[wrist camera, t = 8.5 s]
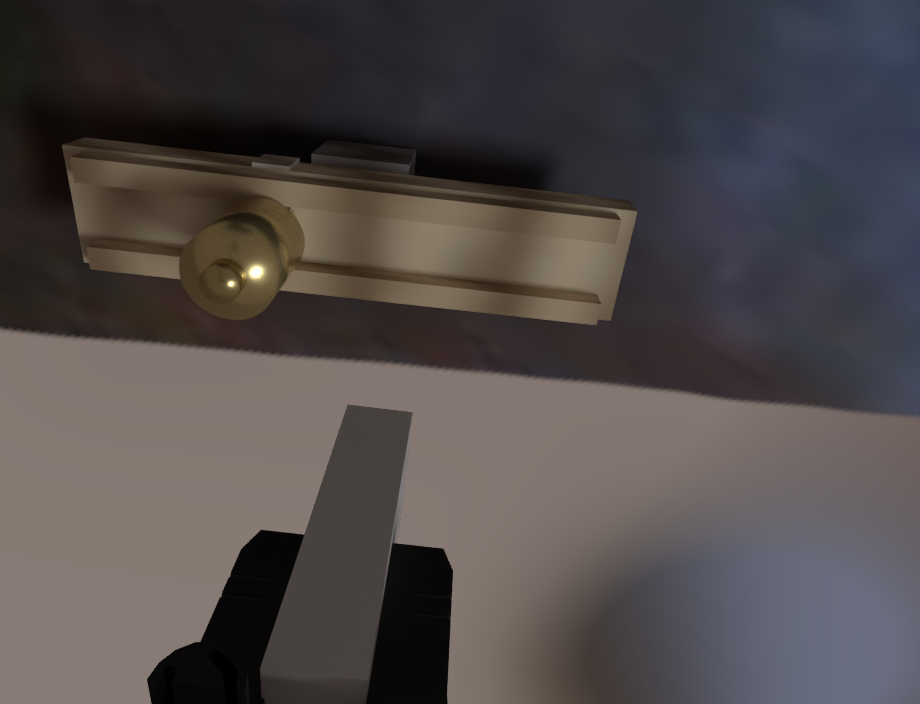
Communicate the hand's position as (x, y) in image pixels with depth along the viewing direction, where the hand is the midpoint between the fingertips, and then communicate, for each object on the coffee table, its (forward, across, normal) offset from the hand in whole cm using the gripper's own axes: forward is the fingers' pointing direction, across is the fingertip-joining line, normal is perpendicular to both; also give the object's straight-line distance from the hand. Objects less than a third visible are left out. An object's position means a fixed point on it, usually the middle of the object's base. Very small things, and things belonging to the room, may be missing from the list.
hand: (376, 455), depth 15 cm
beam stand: (+25, -4, -2) cm, 25 cm away
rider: (+19, -8, -2) cm, 20 cm away
